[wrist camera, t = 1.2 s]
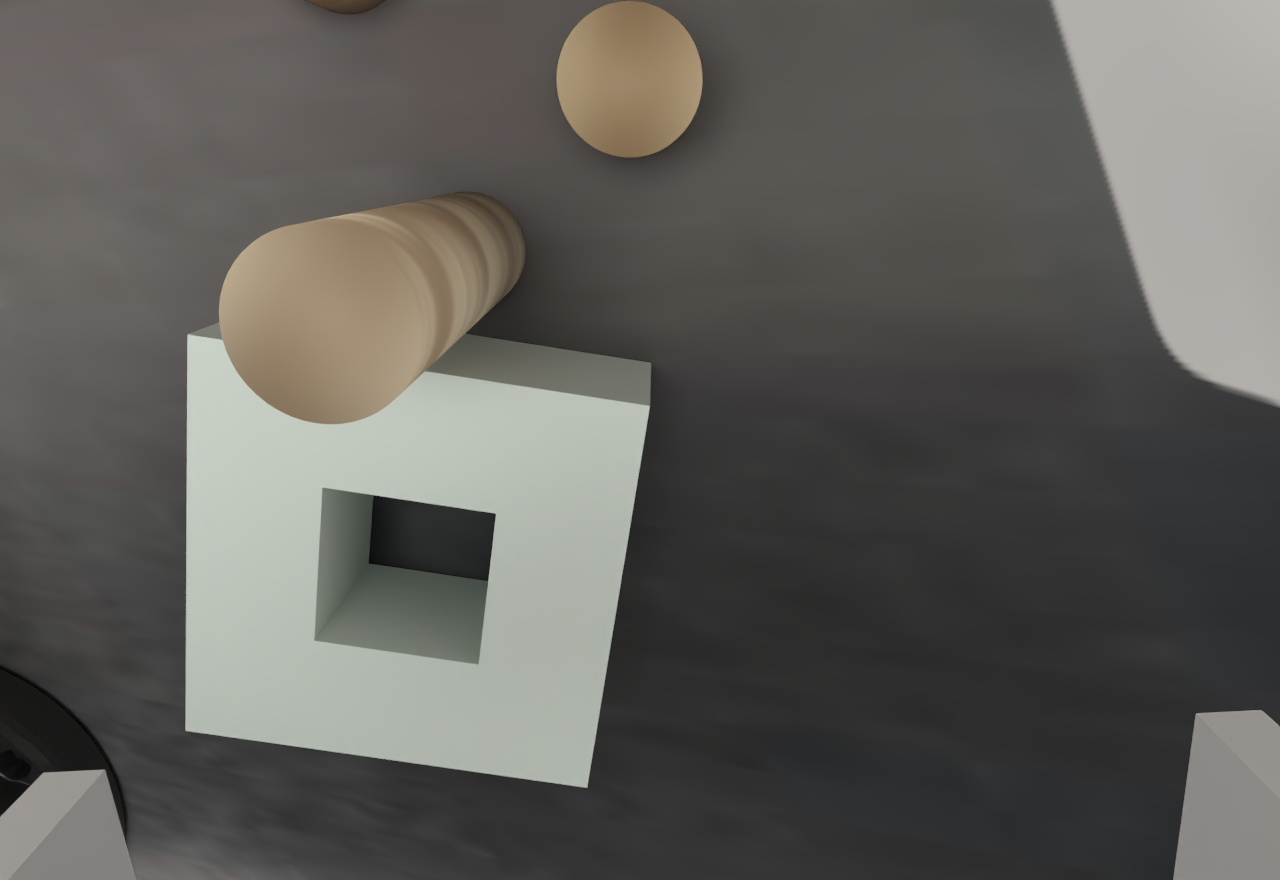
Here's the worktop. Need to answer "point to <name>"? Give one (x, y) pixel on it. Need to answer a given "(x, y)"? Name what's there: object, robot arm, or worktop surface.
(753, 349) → the worktop surface
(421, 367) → the dowel long
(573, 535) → the socket block
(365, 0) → the dowel short
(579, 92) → the dowel mid
